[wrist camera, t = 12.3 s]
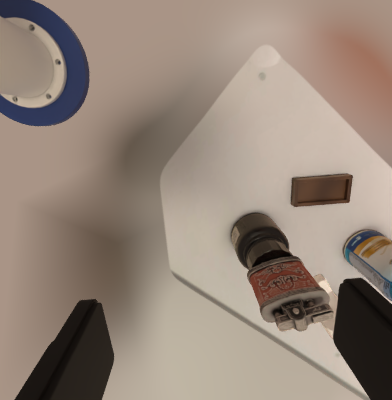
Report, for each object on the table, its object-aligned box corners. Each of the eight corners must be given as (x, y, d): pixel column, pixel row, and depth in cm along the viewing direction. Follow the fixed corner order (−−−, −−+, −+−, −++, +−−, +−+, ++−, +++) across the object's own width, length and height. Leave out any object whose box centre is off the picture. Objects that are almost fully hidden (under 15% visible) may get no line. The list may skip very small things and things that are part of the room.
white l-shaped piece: (316, 316, 53) (344, 358, 43) (297, 285, 50) (323, 323, 41) (338, 305, 52) (371, 346, 43) (320, 273, 50) (352, 309, 40)
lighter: (250, 286, 36) (272, 345, 26) (244, 268, 35) (265, 322, 25) (303, 271, 35) (345, 326, 26) (298, 251, 34) (341, 301, 24)
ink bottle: (220, 228, 46) (230, 263, 34) (259, 201, 44) (283, 229, 33) (248, 262, 48) (266, 306, 37) (285, 238, 47) (316, 276, 35)
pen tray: (290, 204, 45) (294, 207, 43) (292, 178, 43) (295, 180, 42) (344, 199, 45) (349, 202, 43) (347, 173, 43) (353, 175, 42)
